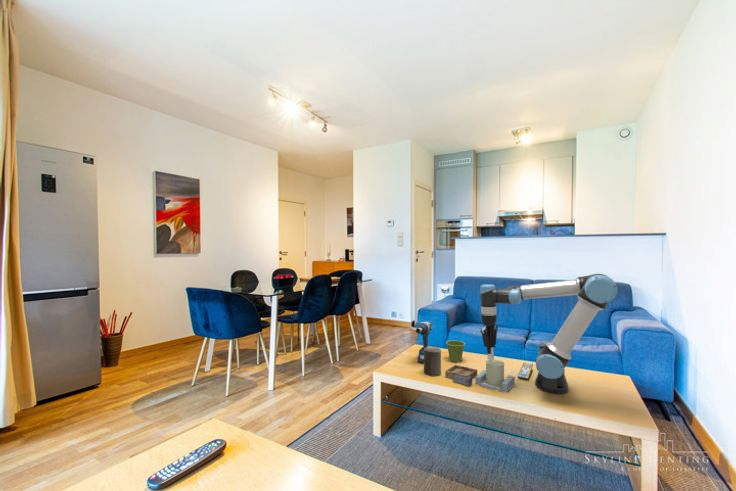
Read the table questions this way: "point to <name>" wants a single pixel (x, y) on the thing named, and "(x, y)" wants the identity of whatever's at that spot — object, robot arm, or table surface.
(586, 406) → the table surface
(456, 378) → the grey t-shaped block
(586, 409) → the table surface
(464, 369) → the tray
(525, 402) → the table surface
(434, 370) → the pillar candle
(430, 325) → the impact wrench
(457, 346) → the plant pot
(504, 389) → the socket block
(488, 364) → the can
